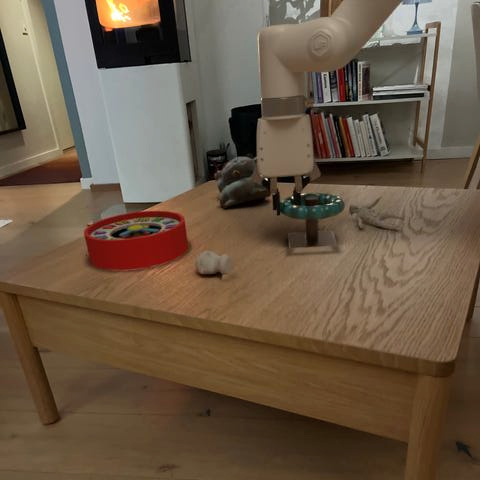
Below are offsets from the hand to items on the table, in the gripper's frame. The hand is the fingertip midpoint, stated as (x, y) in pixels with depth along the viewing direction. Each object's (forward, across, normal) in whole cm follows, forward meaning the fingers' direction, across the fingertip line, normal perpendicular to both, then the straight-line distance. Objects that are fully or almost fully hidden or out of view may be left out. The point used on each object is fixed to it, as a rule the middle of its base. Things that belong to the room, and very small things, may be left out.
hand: (287, 212), depth 91 cm
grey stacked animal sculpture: (+7, +11, -36) cm, 38 cm away
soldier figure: (+7, -19, -10) cm, 22 cm away
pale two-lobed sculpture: (+7, +13, +13) cm, 20 cm away
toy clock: (+7, +30, -1) cm, 31 cm away
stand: (+7, -5, 0) cm, 8 cm away
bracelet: (-1, -5, 0) cm, 5 cm away
